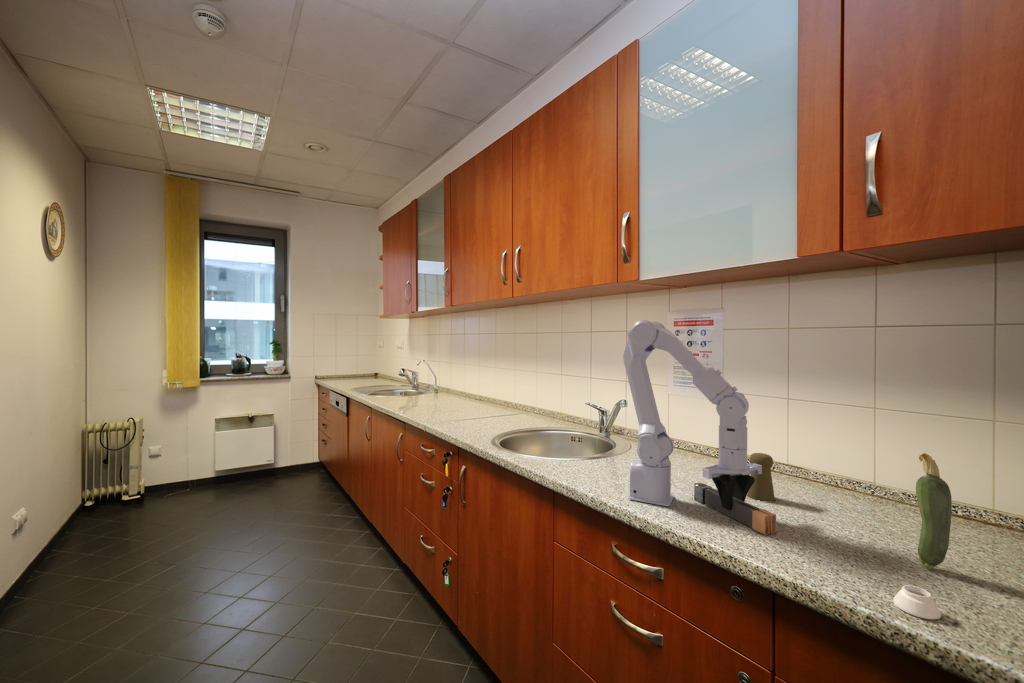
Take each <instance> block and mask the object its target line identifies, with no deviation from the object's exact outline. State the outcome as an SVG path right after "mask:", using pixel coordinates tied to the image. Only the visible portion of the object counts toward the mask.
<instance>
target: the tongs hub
mask: <svg viewBox="0 0 1024 683" xmlns="http://www.w3.org/2000/svg"><path fill="white" fill-rule="evenodd" d="M693 486H694V487H693V488H694V491H693V492H694V493H693V498H694V501H696V502H697V503H700V504H701V505H706V504H705V489H709V490H711V488H713V487H712V486H711V485H708V484H706V483H703V482H694V485H693Z"/></svg>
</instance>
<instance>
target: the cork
mask: <svg viewBox="0 0 1024 683" xmlns="http://www.w3.org/2000/svg"><path fill="white" fill-rule="evenodd" d="M748 459H749V464H752V463H755V464H758V465H762V474H756V473H755V474H750V476H751V477H754V478H755V482H754V483H753V485H752V486H751V488H750V489H749V491H748V493H747V496H746V497H747V498H749V499H751V498H752V499H751V500H753V499H755V500H754V501H757V500H760V501H759V502H762V501H773V500H774V501H775V491H774V484H773V478H772V477H773V476H772V469H771V468H772V467H773V465H774V459H773V458H772V456H771V455H769V454H767V453H762V452H753V453H751V454H750V456H749V458H748ZM774 501H773V502H774Z"/></svg>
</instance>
